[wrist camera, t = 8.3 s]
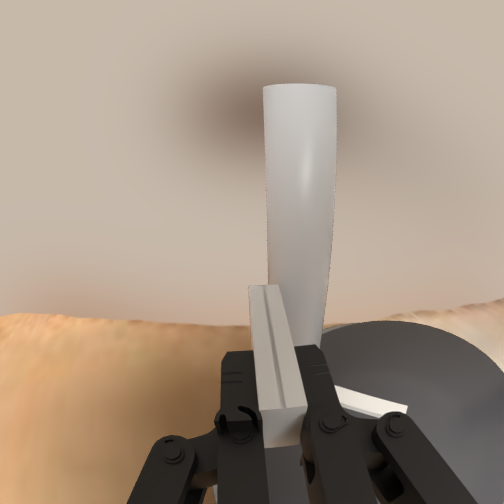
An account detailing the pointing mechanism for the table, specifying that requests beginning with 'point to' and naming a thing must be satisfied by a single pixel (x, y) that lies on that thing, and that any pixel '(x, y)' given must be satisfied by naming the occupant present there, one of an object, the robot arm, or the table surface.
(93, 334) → the table surface
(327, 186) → the dial
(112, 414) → the table surface
